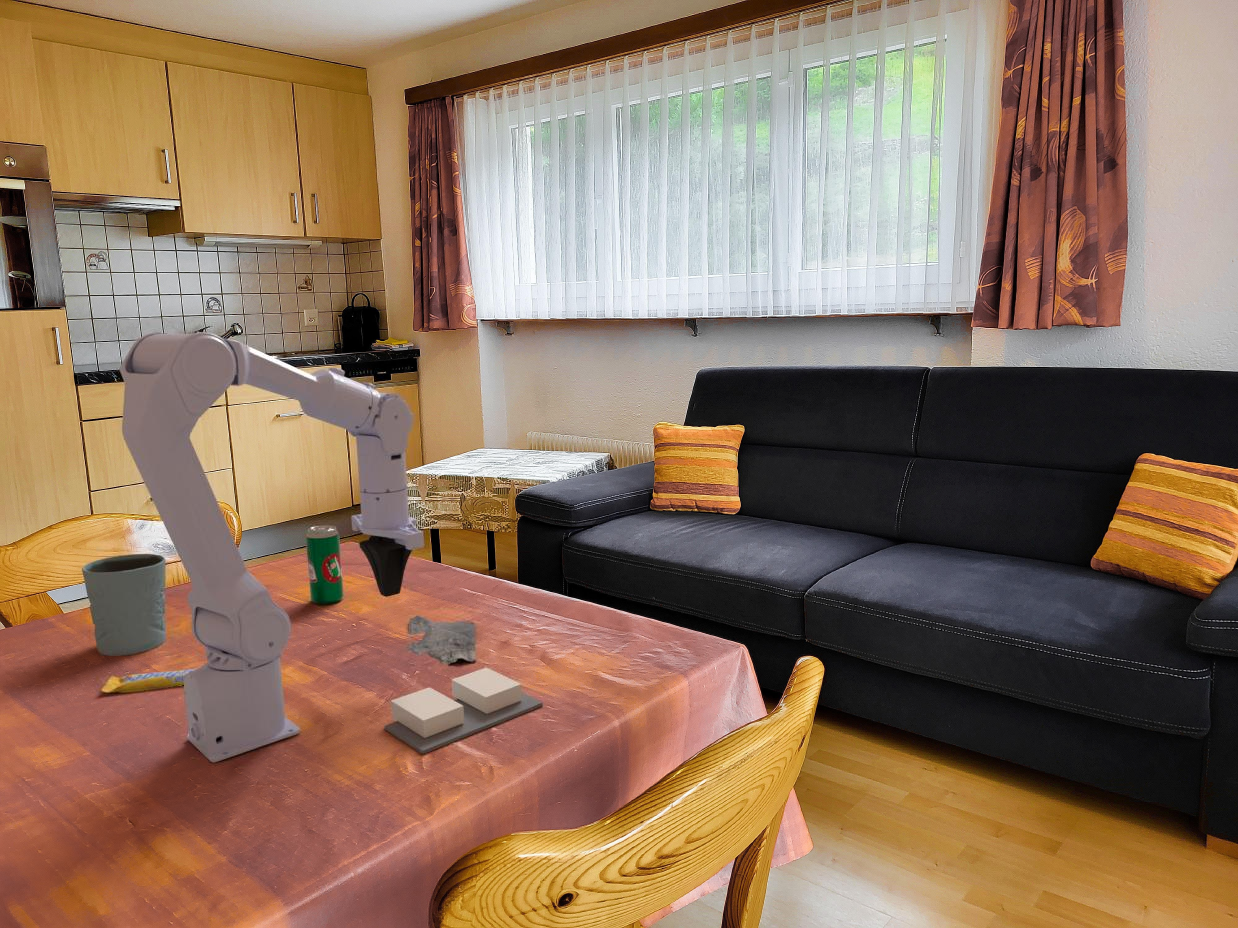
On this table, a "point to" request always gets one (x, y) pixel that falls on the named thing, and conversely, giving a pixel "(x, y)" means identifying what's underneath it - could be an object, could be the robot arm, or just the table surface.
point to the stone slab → (443, 639)
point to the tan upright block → (486, 690)
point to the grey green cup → (127, 602)
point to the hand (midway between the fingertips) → (390, 594)
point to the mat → (471, 725)
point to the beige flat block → (427, 712)
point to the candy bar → (145, 681)
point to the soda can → (324, 564)
